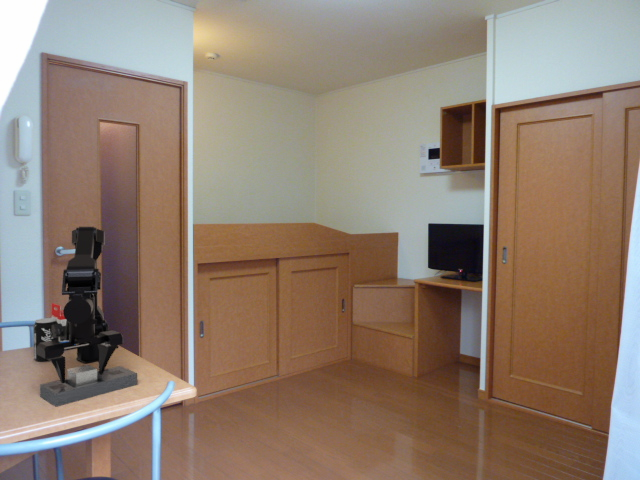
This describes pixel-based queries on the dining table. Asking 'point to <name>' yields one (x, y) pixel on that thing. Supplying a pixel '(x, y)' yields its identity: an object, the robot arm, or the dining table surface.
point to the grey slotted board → (88, 386)
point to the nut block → (82, 375)
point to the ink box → (59, 317)
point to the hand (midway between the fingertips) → (82, 378)
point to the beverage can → (43, 335)
